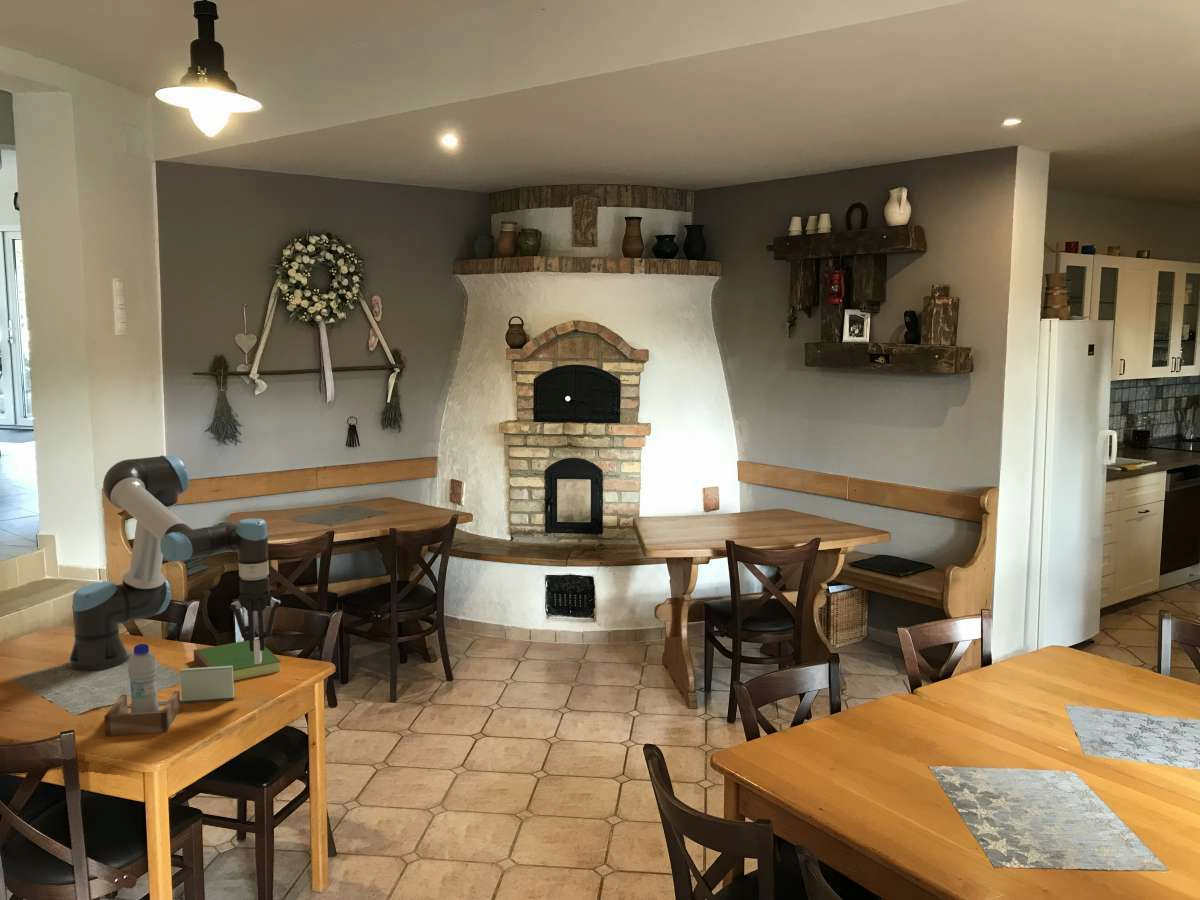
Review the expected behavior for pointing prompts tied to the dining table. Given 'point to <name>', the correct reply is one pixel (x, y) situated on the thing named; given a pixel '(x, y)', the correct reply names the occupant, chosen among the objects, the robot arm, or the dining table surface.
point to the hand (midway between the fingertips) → (258, 662)
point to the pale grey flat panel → (207, 683)
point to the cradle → (145, 716)
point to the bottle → (143, 680)
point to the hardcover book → (237, 659)
